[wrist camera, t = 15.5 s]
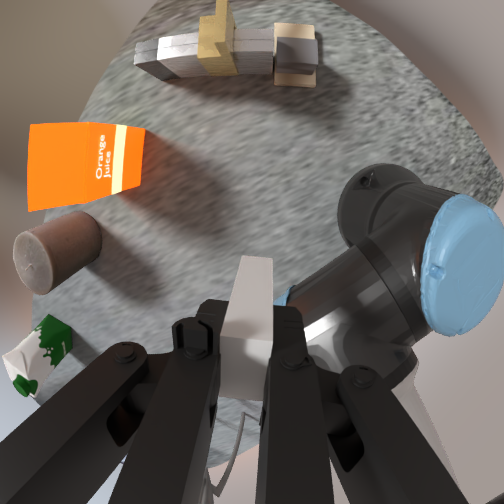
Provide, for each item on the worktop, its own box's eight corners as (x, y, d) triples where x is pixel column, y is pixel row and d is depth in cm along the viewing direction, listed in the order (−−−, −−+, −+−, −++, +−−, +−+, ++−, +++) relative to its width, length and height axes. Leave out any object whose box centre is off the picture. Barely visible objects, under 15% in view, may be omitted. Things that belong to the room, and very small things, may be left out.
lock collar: (239, 39, 28) (227, -4, 17) (238, 75, 30) (224, 41, 19) (213, 40, 28) (190, 0, 17) (211, 76, 30) (186, 45, 19)
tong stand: (312, 29, 29) (319, 10, 23) (314, 87, 33) (322, 75, 26) (274, 26, 29) (275, 6, 23) (274, 85, 33) (275, 72, 27)
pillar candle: (105, 264, 44) (54, 305, 30) (66, 260, 44) (15, 294, 30) (99, 209, 40) (40, 235, 26) (59, 210, 41) (1, 233, 27)
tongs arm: (272, 54, 31) (273, 29, 22) (272, 63, 31) (273, 39, 23) (162, 62, 32) (136, 43, 23) (161, 71, 32) (135, 53, 24)
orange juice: (146, 128, 36) (56, 118, 17) (140, 185, 39) (53, 216, 20) (103, 129, 36) (9, 127, 17) (99, 183, 39) (8, 210, 20)
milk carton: (75, 352, 52) (33, 407, 34) (48, 335, 52) (3, 384, 33) (74, 325, 50) (23, 383, 31) (45, 308, 49) (-8, 357, 30)
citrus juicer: (216, 384, 51) (187, 517, 23) (258, 401, 53) (249, 530, 25) (195, 408, 55) (165, 521, 27) (233, 424, 56) (217, 534, 28)
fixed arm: (272, 64, 32) (273, 40, 23) (272, 74, 32) (273, 51, 24) (162, 71, 33) (135, 53, 24) (161, 80, 33) (133, 64, 24)
